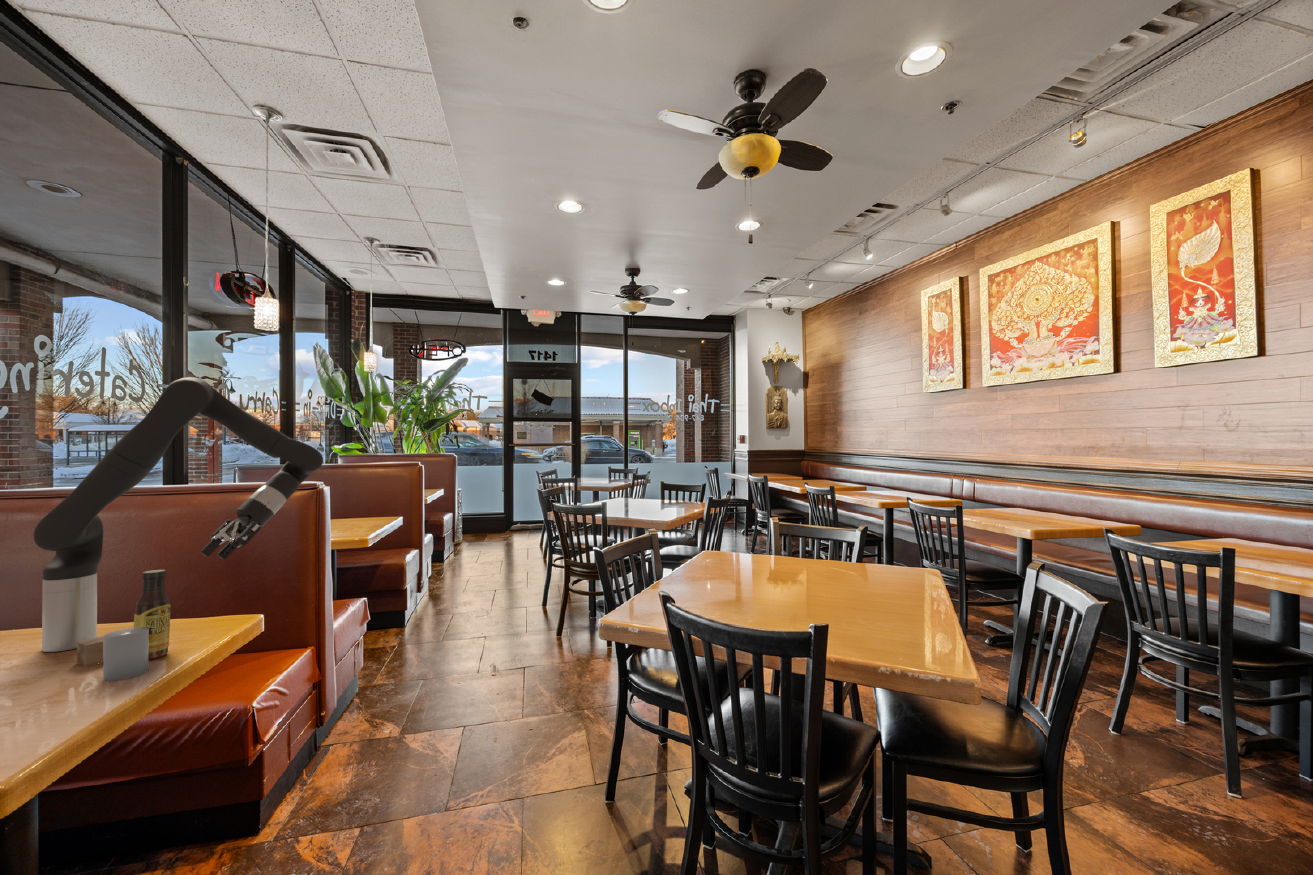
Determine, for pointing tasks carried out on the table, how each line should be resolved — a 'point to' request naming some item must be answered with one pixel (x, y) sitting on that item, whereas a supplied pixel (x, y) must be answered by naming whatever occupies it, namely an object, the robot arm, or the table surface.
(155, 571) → the sauce bottle
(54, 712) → the table surface
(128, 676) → the grey rounded cylinder
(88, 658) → the walnut block
